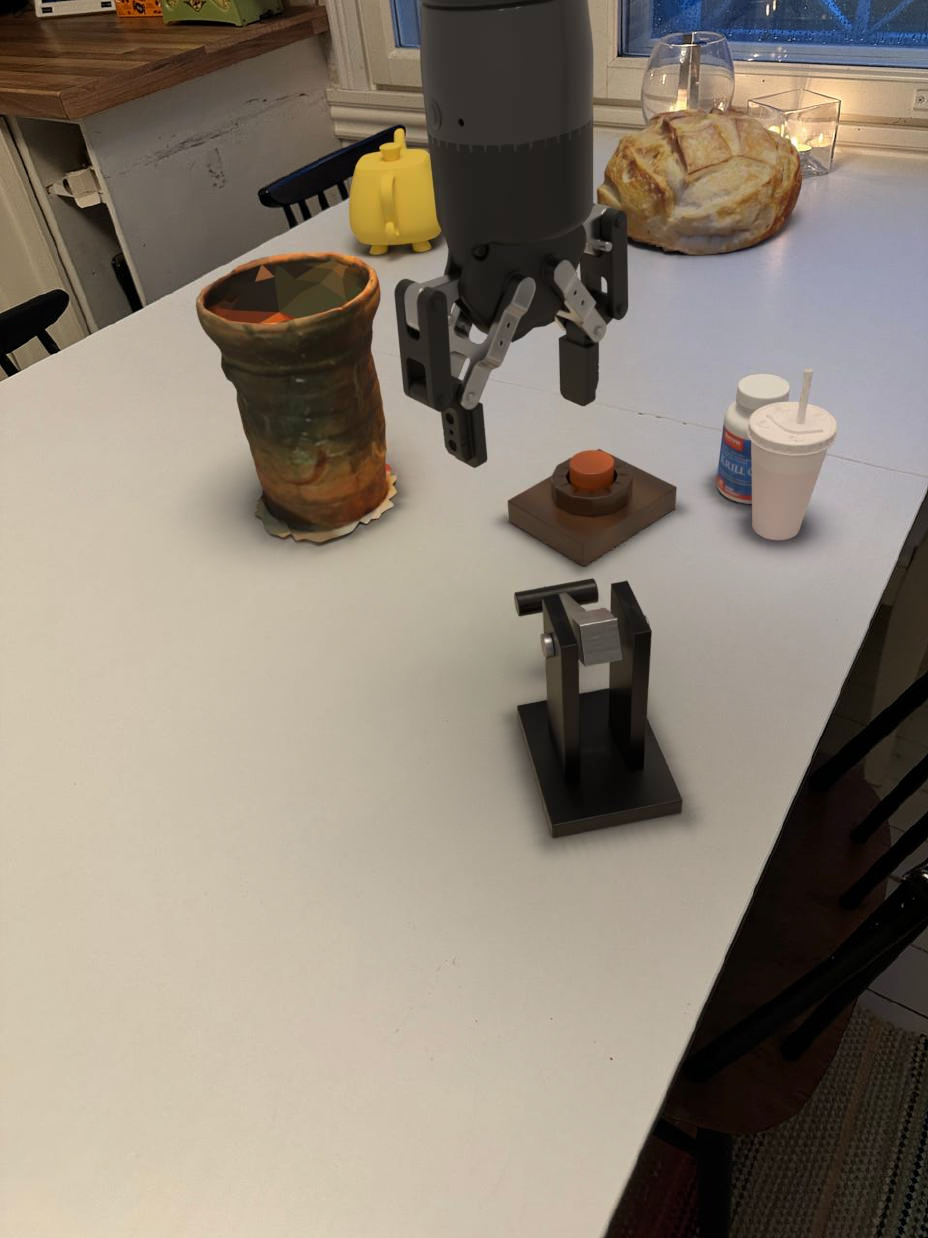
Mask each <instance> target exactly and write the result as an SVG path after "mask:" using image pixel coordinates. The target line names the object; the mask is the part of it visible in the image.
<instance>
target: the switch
mask: <svg viewBox="0 0 928 1238" xmlns="http://www.w3.org/2000/svg"><path fill="white" fill-rule="evenodd" d="M557 593H558V594H559V595H560V598H561V600H562V603H563V605H564V608H565V611H566V613H567V616H568V618H569V621H570V623H571V626H572V629H573V631H574V634H575V636H576V639H577V642H578V644H579V663H581V665H583V666H584V667H585V668H587V667H591V666H592V667H593V666H597V665H603V664H609V663H610V662H613V661H619V660H623V654H622V646H621V638H620V630H619V622H618V618H617V617H615V616H614V615H613V614H612V613H611V612H610V611H609V610H608V608H606V607H602V608H596V609H591V610H586V609H585V608H584V607H583V606H586V605H592V604H597V603H599V601H600V599H599V598H600V594H599V587H598V584H597V581H596V579H595V578H593V577H592V578H586V579H581V580H575V581H570V582H564V583H559V584H552V585H548V586H547V585H546V586H542V587H536V588H531V589H525V590H519V591H515V592H514V593H513V600H514V601H513V602H514V606H515V611H516V615H517V617H519V618H520V617H526V616H531V615H537V614H543V606H542V596H546V595H552V594H557Z"/></svg>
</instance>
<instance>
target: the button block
mask: <svg viewBox="0 0 928 1238" xmlns="http://www.w3.org/2000/svg"><path fill="white" fill-rule="evenodd" d="M597 450H598V451H603V452H606V453H608V454H609V455H611V456H612V458H613V460H614V480H613V483H612V484H611V485H610V486H608V487H606V488H603V489H597V490H592V491H591V490H584V489H578V488H576V487H574V486H573V485H572V484H571V482H570V460H571V458H572V457H573V456H572V457H569V458H568V459H566V460H564V461H562V462H561V463H559V464H557V465H556V467H555V468H554V469H553V472H552V474H551V475H550V476H548V477H547V478H544V479H543V480H541V481H540V482H538V483H536V484H534V485H533V486H531V487H529V488H527V489H526V490H524V491H522V492H520V493H519V494H517V495H515V496H513V497H511V498H509V499H508V500H507V512H508V522H509V523H511V524H512V525H514V526H516V527H518V528H519V529H521V530H522V531H524V532H526V533H527V534H529V535H531V536H532V537H534V538H536V539H537V540H539V541H540V542H542V543H544V544H545V545H547V546H549V547H550V548H552V549H554V550H555V551H556V552H559V554H561V555H563V556H565V557H566V558H568V559H570V560H571V561H573V562H575V563H576V564H578V565H579V566H582V567H586V566H587V565H589V564H590V563H592V562H593V561H595V560H597V559H598V558H600V557H601V556H603V555H605V554H607V552H609V551H611V550H612V549H614V548H616V547H617V546H618V545H620V544H621V543H623V542H625V541H626V540H628V539H629V538H631V537H632V536H634V535H636V534H637V533H639V532H641V531H642V530H644V529H645V528H646V527H648V526H650V525H651V524H653V523H654V522H656V521H658V520H659V519H661V518H663V517H664V516H665V515H667V514H668V513H670V512H672V511H673V510H675V509H676V504H677V491H678V487H677V486H676V485H674V484H672V483H670V482H668V481H665V480H663V479H661V478H659V477H657V476H655V475H653V474H651V473H649V472H647V471H645V470H643V469H641V468H639V467H637V466H635V465H633V464H631V463H629V462H627V461H625V460H623V459H621V458H619V457H617V456H615V455H613V454H610V453H609V452H607V451H605V450H603V449H600V448H598V449H597Z"/></svg>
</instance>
